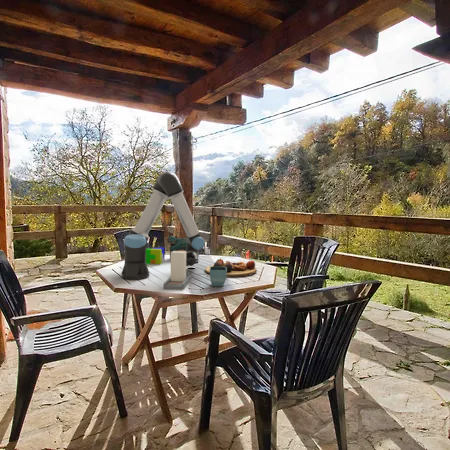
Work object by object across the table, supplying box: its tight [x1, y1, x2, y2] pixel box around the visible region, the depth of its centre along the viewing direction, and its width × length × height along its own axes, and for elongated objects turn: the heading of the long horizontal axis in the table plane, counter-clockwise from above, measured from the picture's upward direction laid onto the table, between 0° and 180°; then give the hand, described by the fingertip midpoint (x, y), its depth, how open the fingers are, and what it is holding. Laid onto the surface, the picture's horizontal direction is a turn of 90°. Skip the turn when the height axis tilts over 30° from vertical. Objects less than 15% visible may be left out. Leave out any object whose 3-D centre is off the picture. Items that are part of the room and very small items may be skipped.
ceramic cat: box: [167, 231, 187, 260], centre depth 234 cm, size 20×6×20 cm, turn 83°
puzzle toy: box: [146, 246, 166, 265], centre depth 219 cm, size 10×10×10 cm
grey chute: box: [163, 272, 193, 290], centre depth 168 cm, size 10×24×3 cm, turn 176°
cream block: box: [170, 250, 187, 282], centre depth 167 cm, size 7×6×15 cm
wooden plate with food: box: [204, 258, 257, 278], centre depth 197 cm, size 32×32×8 cm
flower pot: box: [209, 267, 227, 287], centre depth 164 cm, size 9×9×9 cm
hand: (182, 266), depth 170 cm, fingers closed
